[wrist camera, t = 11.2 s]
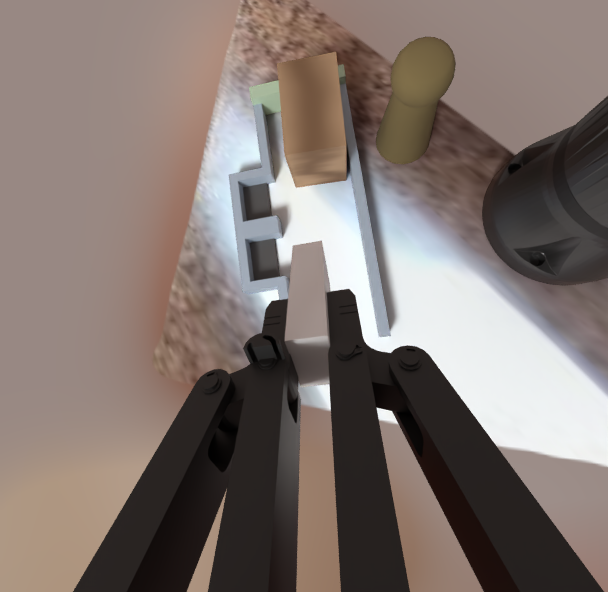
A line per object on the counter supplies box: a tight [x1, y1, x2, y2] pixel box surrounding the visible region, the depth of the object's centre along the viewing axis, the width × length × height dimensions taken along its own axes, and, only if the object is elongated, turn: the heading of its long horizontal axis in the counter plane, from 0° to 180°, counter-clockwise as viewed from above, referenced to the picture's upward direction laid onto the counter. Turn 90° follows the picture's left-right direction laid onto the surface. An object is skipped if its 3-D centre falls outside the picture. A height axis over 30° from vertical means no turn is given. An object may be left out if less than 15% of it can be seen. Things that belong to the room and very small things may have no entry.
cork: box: [376, 37, 455, 164], centre depth 30 cm, size 6×6×11 cm
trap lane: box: [229, 64, 391, 337], centre depth 35 cm, size 15×30×3 cm, turn 9°
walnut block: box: [277, 52, 346, 188], centre depth 34 cm, size 6×10×7 cm, turn 5°
